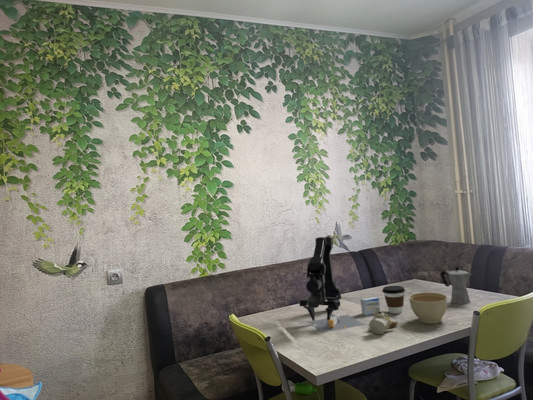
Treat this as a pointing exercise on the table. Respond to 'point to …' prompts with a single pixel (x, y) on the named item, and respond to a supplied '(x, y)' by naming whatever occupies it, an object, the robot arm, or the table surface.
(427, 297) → the planter bowl
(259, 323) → the table surface
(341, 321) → the dial board
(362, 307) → the medicine box
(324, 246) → the robot arm
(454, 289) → the coffeepot
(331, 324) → the white and tan block
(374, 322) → the ceramic sculpture
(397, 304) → the coffee cup
